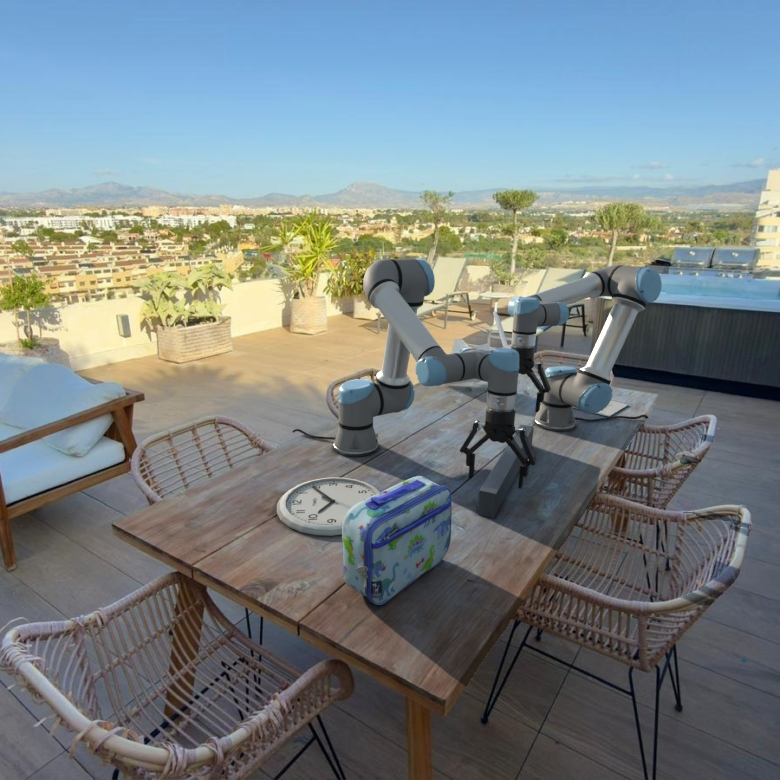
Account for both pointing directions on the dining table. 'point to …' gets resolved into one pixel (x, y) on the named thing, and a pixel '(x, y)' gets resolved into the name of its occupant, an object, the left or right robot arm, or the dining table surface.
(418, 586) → the dining table surface
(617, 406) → the invitation card
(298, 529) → the wall clock
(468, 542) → the dining table surface
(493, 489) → the plank
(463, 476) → the dining table surface
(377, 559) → the lunch box
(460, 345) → the white plastic object
